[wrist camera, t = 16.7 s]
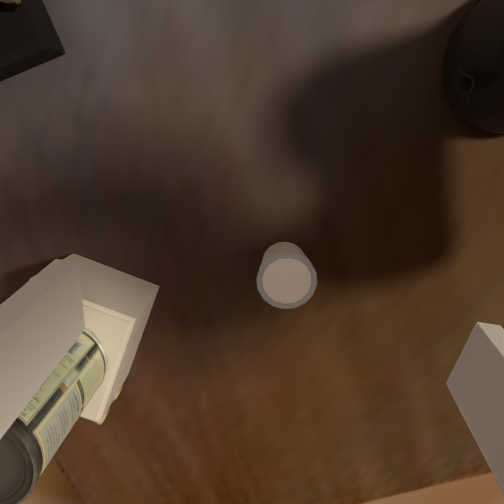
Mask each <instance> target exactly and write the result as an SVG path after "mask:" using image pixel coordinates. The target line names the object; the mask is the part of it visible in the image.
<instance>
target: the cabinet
mask: <svg viewBox="0 0 504 504" xmlns="http://www.w3.org/2000/svg"><path fill="white" fill-rule="evenodd" d="M63 260H67V261H73V262H79V271H80V282H81V292H82V303H83V313H84V323H85V328H87V329H88V330H90V331H91V332H93V333H94V334H95V335H96V337H97V338H98V339H99V340H100V341H101V343H102V345H103V346H104V348H105V351H106V354H107V358H108V371H107V375H106V377H105V379H104V381H103V383H102V384H101V385H100V387H99V388H98V389H97V390H96V392H95V394H94V395H93V397H92V398H91V400H90V401H89V403H88V404H87V406H86V407H85V409H84V410H83V412H82V413H81V415H80V417H83V418H86V419H89V420H92V421H95V423H96V424H98V425H100V424H102V423H103V421H104V419H105V417H106V416H107V414H108V412H109V411H110V405H111V403H112V401H113V400H115V399H116V398H117V397H118V395H119V393H120V392H121V390H122V388H123V382H124V381H125V379H126V377H127V376H128V374H129V371H130V368H131V365H132V362H133V360H134V357H135V354H136V351H137V348H138V346H139V343H140V340H141V337H142V334H143V332H144V329H145V326H146V323H147V320H148V318H149V315H150V312H151V309H152V306H153V304H154V301H155V298H156V295H157V292H158V290H159V287H160V286H158V285H155V284H153V283H150V282H148V281H145V280H142V279H140V278H137V277H134V276H132V275H129V274H127V273H124V272H121V271H119V270H116V269H114V268H111V267H108V266H106V265H103V264H101V263H98V262H95V261H93V260H90V259H87V258H85V257H82V256H80V255H77V254H74V253H73V254H71V255H70V256H68V257H66V258H65V259H63ZM35 276H36V275H35ZM32 278H33V277H32ZM32 278H30V279H29V281H30V280H31V279H32Z"/></svg>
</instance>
